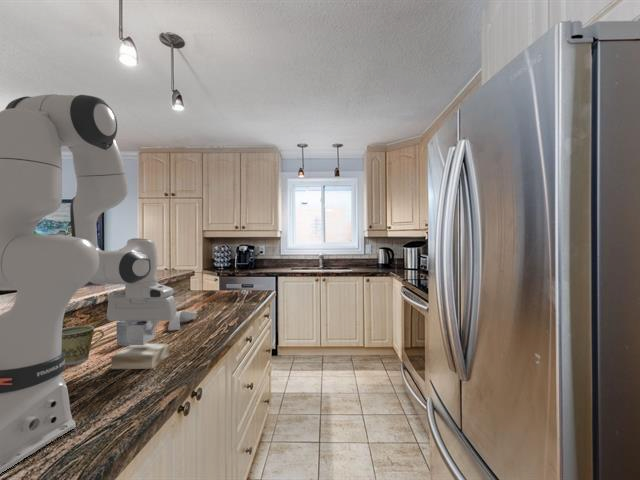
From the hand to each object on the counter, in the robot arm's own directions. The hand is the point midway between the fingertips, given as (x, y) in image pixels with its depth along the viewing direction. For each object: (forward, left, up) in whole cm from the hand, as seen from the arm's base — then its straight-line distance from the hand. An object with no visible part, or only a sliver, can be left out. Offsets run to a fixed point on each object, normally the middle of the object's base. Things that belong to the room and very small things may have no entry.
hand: (142, 334), depth 100 cm
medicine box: (+19, +15, -9) cm, 26 cm away
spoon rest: (+46, +8, -9) cm, 47 cm away
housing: (0, 0, -2) cm, 2 cm away
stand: (0, 0, -8) cm, 8 cm away
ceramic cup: (+1, +20, -9) cm, 22 cm away
